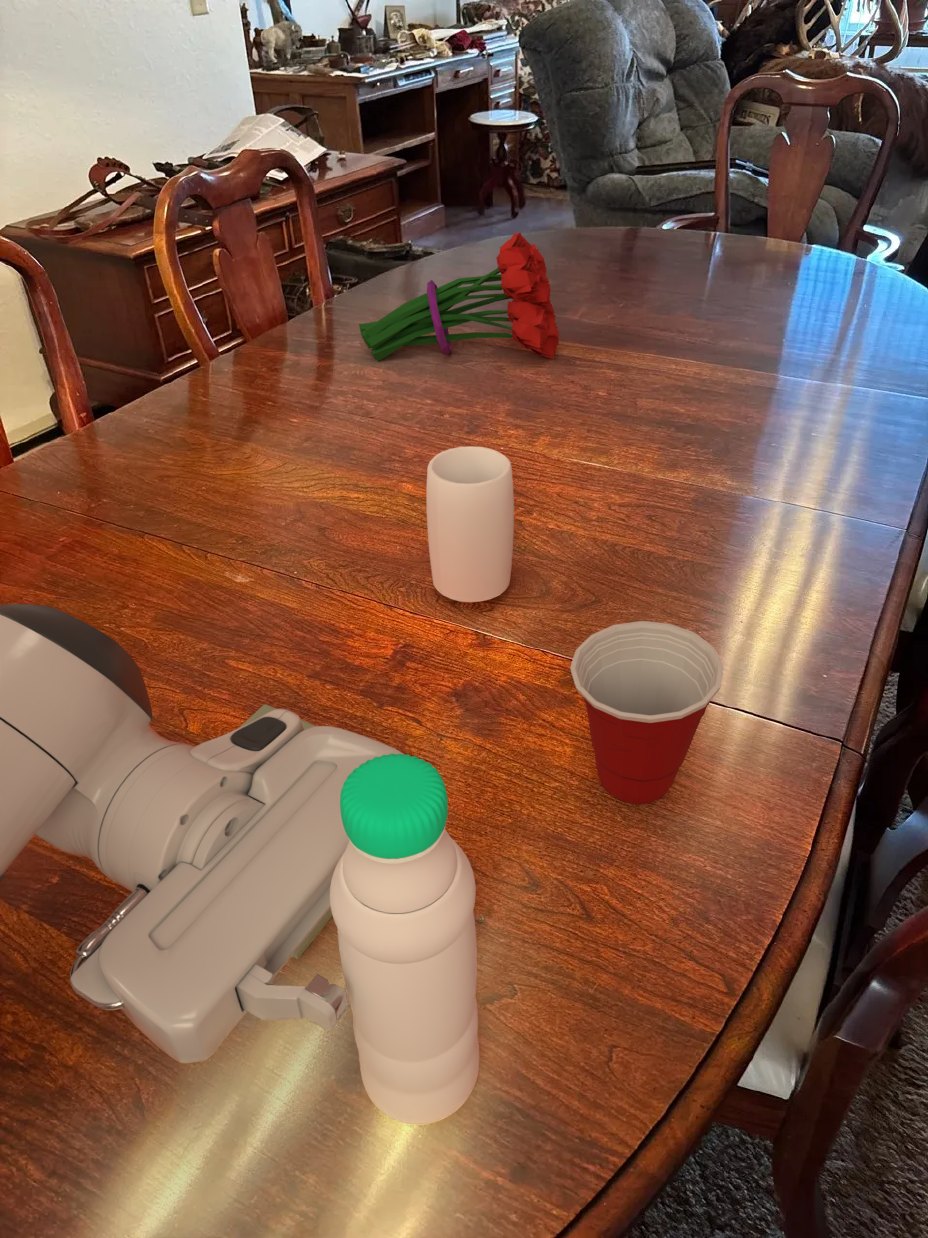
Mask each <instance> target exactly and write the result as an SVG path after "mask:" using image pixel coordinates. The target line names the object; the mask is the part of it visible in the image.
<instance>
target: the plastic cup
mask: <svg viewBox="0 0 928 1238" xmlns="http://www.w3.org/2000/svg"><path fill="white" fill-rule="evenodd" d="M569 669H570V672H571V676H572V679H573V682H574V686H575V688H576V691H577V692H578V693H579V694H580V695H581V696H582V697H583V700H584V703H585V706H586V713H587V719H588V727H589V732H590V739H591V744H592V749H593V752H594V758H595V767H596V772H597V776H598V779H599V781H600V785H601V786H602V788H603V789H604V790H605V791H606V792H607V793H608V794H609V795H610V796H612V797H614V798H615V799H617V800H619V801H621V802H623V803H627V804H634V805H642V804H643V805H645V804H651V803H654V802H656V801H657V800H660V799H663V797H664V796H665V794H666V793H667V792H668V791H669V790H670V788H671V787H672V785H674V782H675V780H676V777H677V775H678V772H679V770H680V768H681V766H682V765H683V764H684V762H685V759H686V757H687V754H688V752H689V749H690V747H691V744H692V742H693V740H694V737H695V735H696V732H697V730H698V727H699V725H700V723H701V720H702V717H704V715H705V713H706V710H707V707H708V706H709V705H710V702H711V701H712V699H713V698H714V697H715V696H716V695H717V693H718V692H719V691H720V689H721V687H722V683H723V682H722V681H723V675H724V663H723V662H722V660H721V658H720V656H719V654H718V652H717V650H716V648H715V647H714V646H713V645H712V644H710V643H709V642H708V641H706V640H705V639H704V638H702V637H701V636H700V635H699V634H698V633H696V632H694V631H691V630H688V629H686V628H683V627H680V626H679V625H678V626H677V625H675V624H672V623H668V622H667V623H666V622H657V621H656V622H655V621H647V620H639V621H632V622H624V623H618V624H613V625H611V626H608V627H606V628H603V629H601V630H599V631H597V632H594V633H592V634H591V635H589V637H587V638H586V639H585V640H584V641H583V642H582V643H581V644H580V645H579V646H578V647H577V648H576V649H575V651H574V655H573V658H572V661H571V663H570V667H569Z"/></svg>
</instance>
